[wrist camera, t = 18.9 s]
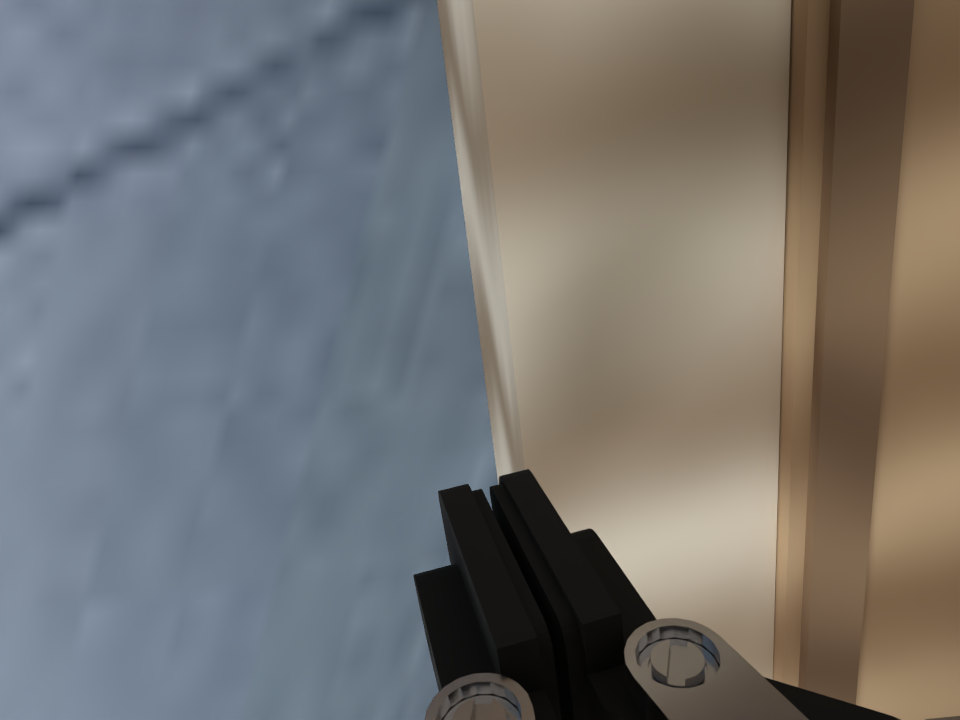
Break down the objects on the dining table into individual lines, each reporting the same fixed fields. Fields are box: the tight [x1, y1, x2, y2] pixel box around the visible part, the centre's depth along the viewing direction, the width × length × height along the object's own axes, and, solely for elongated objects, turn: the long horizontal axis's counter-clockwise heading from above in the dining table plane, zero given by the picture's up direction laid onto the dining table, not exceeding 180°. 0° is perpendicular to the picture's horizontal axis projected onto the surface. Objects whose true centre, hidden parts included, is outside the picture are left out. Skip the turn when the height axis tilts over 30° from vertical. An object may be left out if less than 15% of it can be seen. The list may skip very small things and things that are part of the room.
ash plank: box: [437, 0, 791, 680], centre depth 17 cm, size 20×6×4 cm, turn 7°
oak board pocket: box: [773, 0, 960, 720], centre depth 17 cm, size 26×18×4 cm
